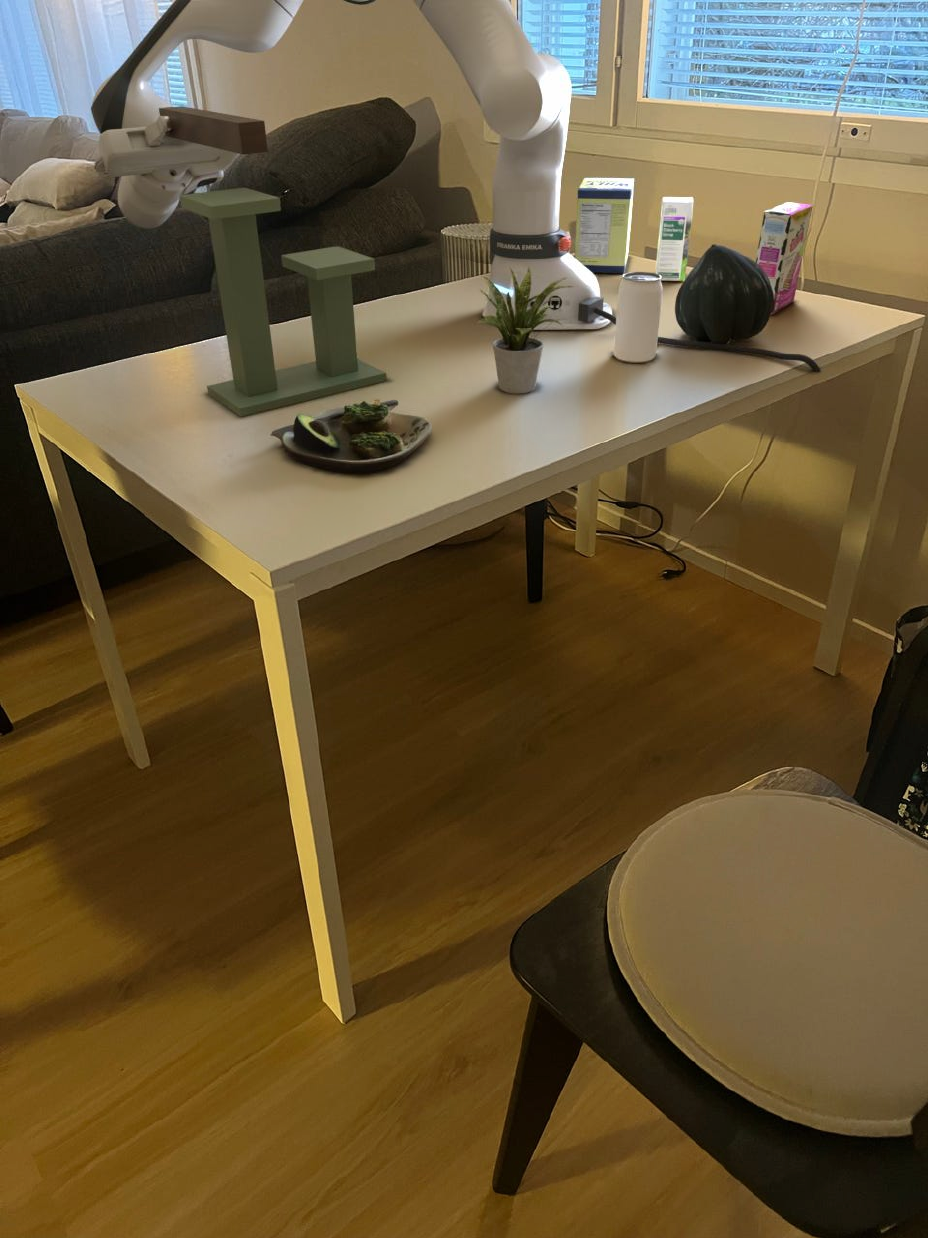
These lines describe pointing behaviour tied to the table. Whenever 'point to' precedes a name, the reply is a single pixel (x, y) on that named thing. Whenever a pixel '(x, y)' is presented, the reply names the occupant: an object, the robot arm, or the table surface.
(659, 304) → the can
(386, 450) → the salad plate
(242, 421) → the table surface
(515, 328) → the house plant
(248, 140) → the walnut stick
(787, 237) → the candy bar box
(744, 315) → the squash
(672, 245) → the syrup box
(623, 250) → the protein box
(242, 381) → the plant stand
